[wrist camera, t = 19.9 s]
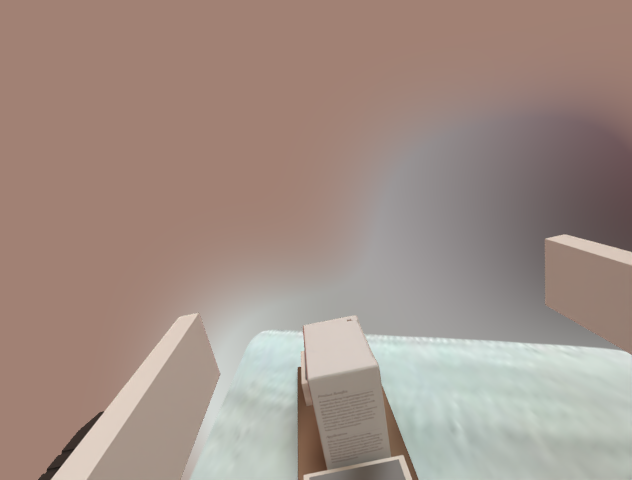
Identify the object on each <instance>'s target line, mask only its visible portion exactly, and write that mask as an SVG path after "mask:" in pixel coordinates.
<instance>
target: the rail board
mask: <svg viewBox="0 0 632 480" xmlns="http://www.w3.org/2000/svg"><path fill="white" fill-rule="evenodd" d="M381 385H382V384H381ZM382 392H383V399H384V408H385V415H386V422H387V430H388V437H389V444H390V452H391V457H390V458H385V459H380V460H375V461H370V462H365V463H360V464H355V465H351V466H346V467H341V468H336V469H331V470H327V466H326V462H325V458H324V453H323V449H322V445H321V440H320V435H319V430H318V426H317V422H316V418H315V414H314V409H313V404H312V400H311V395H310V391H309V386H308V382H307V371H306V359H305V351H301V367H298V480H418V477H417V475H416V472H415V469H414V467H413V464H412V462H411V459H410V456H409V454H408V451H407V449H406V446H405V444H404V441H403V438H402V436H401V433H400V431H399V428H398V426H397V423H396V420H395V418H394V415H393V413H392V410H391V407H390V405H389V402H388V400H387V397H386V395H385V392H384V389H383V387H382Z"/></svg>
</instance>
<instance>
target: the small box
mask: <svg viewBox="0 0 632 480" xmlns="http://www.w3.org/2000/svg"><path fill="white" fill-rule="evenodd" d="M303 334H304V347H305V359H306V371H307V382H308V386H309V391H310V395H311V400H312V404H313V409H314V414H315V418H316V422H317V426H318V430H319V435H320V440H321V445H322V449H323V453H324V458H325V462H326V466H327V470H331V469H336V468H341V467H346V466H351V465H355V464H360V463H365V462H370V461H375V460H380V459H385V458H390V457H391V452H390V444H389V437H388V430H387V422H386V415H385V408H384V399H383V392H382V385H381V377H380V370H379V365H378V363H377V361H376V359H375V357H374V355H373V353H372V351H371V349H370V347H369V344H368V342H367V340H366V338H365V335H364V333H363V331H362V328H361V326H360V323H359V320H358V317H357V316H356V315H355V316H349V317H343V318H338V319H334V320H328V321H323V322H318V323H313V324H308V325H304V326H303Z"/></svg>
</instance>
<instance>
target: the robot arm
mask: <svg viewBox="0 0 632 480" xmlns="http://www.w3.org/2000/svg"><path fill="white" fill-rule="evenodd" d="M545 305H547V306H548V307H550V308H552V309H554V310H555V311H557V312H559V313H560V314H562V315H564V316H566V317H568V318H569V319H571V320H573V321H574V322H576V323H578V324H580V325H581V326H583V327H585V328H587V329H588V330H590V331H592V332H593V333H595V334H597V335H599V336H600V337H602V338H604V339H606V340H607V341H609V342H611V343H613V344H614V345H616V346H618V347H619V348H621V349H623V350H625V351H626V352H628V353H630V354H632V252H629V251H625V250H622V249H618V248H614V247H610V246H607V245H603V244H599V243H595V242H592V241H588V240H584V239H580V238H577V237H573V236H569V235H560V236H556V237H551V238H546V239H545ZM219 376H220V372H219V369H218V366H217V363H216V360H215V358H214V354H213V351H212V349H211V346H210V343H209V340H208V337H207V334H206V331H205V328H204V325H203V322H202V319H201V316H200V314H199V313H195V314H190V315H186V316H181V317H179V318H178V319H177V320H176V321H175V323H174V324H173V325H172V326H171V328H170V329H169V330H168V332H167V333H166V334H165V335H164V337H163V338H162V339H161V341H160V342H159V343H158V344H157V346H156V347H155V348H154V349H153V351H152V352H151V353H150V354H149V356H148V357H147V358H146V359H145V361H144V362H143V363H142V365H141V366H140V367H139V368H138V370H137V371H136V372H135V374H134V375H133V376H132V377H131V379H130V380H129V381H128V382H127V384H126V385H125V386H124V387H123V389H122V390H121V391H120V393H119V394H118V395H117V396H116V398H115V399H114V400H113V401H112V403H111V404H110V405H109V407H108V408H107V409H106V410H105V411H104V412H100V413H99V414H98V415H96V416H95V417H94V418H93V419H92V420H91V421H90V422H88V423H87V424H86V425H85V426H84V427H82V428H81V429H80V430H79V431H78V432H77V433H76V435H75V436H74V437H73V438H72V439H71V441H70V442H69V443H68V444H67V445H66V447H65V448H64V449H63V450H62V454H61V455H58V456H57V457H56V459H55V460H54V461H53V462H52V464H51V465H50V466H49V467H48V468H47V472H46V473H45V474H43V475H42V476H41V477H40V478H39V479H38V480H181V477H182V474H183V472H184V469H185V466H186V464H187V461H188V458H189V456H190V453H191V450H192V448H193V445H194V443H195V440H196V437H197V435H198V432H199V429H200V427H201V424H202V421H203V419H204V416H205V413H206V411H207V408H208V406H209V403H210V400H211V398H212V395H213V392H214V390H215V387H216V384H217V382H218V379H219Z"/></svg>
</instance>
